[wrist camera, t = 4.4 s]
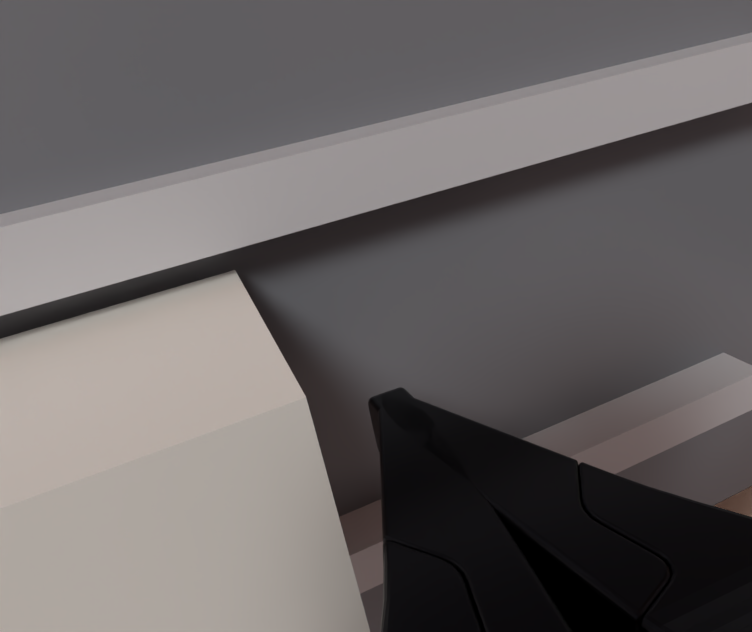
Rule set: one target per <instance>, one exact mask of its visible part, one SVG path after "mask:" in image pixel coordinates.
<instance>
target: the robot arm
mask: <svg viewBox="0 0 752 632" xmlns="http://www.w3.org/2000/svg"><path fill="white" fill-rule="evenodd" d="M368 407H369V412H370V417H371V421H372V426H373V430H374V435H375V439H376V444H377V447H378V450H379V453H380V480H381V508H382V537H383V547H382V548H383V606H382V617H381V628H380V632H752V517H749V516H746V515H742V514H739V513H735V512H732V511H728V510H725V509H722V508H718V507H715V506H711V505H708V504H705V503H701V502H698V501H694V500H691V499H688V498H685V497H681V496H678V495H675V494H672V493H669V492H665V491H662V490H659V489H656V488H653V487H649V486H646V485H644V484H641V483H638V482H635V481H632V480H630V479H627V478H624V477H621V476H618V475H616V474H613V473H610V472H607V471H605V470H602V469H599V468H597V467H594V466H592V465H589V464H586V463H584V462H581V463H579V465H578V461H577V460H575V459H573V458H570V457H567V456H565V455H562V454H560V453H557V452H554V451H552V450H549V449H547V448H544V447H541V446H539V445H536V444H534V443H531V442H528V441H526V440H523V439H521V438H518V437H515V436H513V435H510V434H507V433H505V432H502V431H500V430H497V429H494V428H492V427H489V426H487V425H484V424H481V423H479V422H476V421H474V420H471V419H468V418H466V417H463V416H461V415H458V414H455V413H453V412H450V411H447V410H445V409H442V408H440V407H437V406H434V405H432V404H429V403H427V402H424V401H421V400H419V399H416V398H414V397H413V396H412V395H411V394H410V393H409V392H408V391H407V390H406V389H404V388H402V387H399V388H396V389H393V390H390V391H387V392H384V393H381V394H378V395H376V396H373V397H371V398H370V399H369V401H368Z"/></svg>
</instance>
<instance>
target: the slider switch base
mask: <svg viewBox="0 0 752 632" xmlns="http://www.w3.org/2000/svg"><path fill="white" fill-rule="evenodd" d="M232 270H235V271H236V273H237V274H238V276H239V278H240V280H241V282H242V283H243V285H244V287H245V289H246V290H247V292H248V294H249V296H250V298H251V299H252V301H253V303H254V305H255V307H256V308H257V310H258V312H259V314H260V316H261V317H262V319H263V321H264V323H265V324H266V326H267V328H268V330H269V332H270V333H271V335H272V337H273V339H274V341H275V342H276V344H277V346H278V348H279V350H280V351H281V353H282V355H283V357H284V358H285V360H286V362H287V364H288V366H289V367H290V369H291V371H292V373H293V375H294V376H295V378H296V380H297V382H298V384H299V385H300V387H301V389H302V391H303V392H304V394H305V396H306V399H307V402H308V406H309V410H310V413H311V417H312V421H313V424H314V428H315V431H316V435H317V439H318V442H319V446H320V450H321V453H322V457H323V461H324V464H325V468H326V472H327V475H328V479H329V483H330V486H331V490H332V494H333V497H334V501H335V505H336V508H337V512H338V516H339V519H340V523H341V527H342V530H343V534H344V537H345V541H346V545H347V548H348V552H349V556H350V559H351V563H352V567H353V570H354V574H355V578H356V581H357V585H358V589H359V592H360V596H361V600H362V603H363V607H364V611H365V614H366V618H367V622H368V625H369V629H370V632H380V628H381V617H382V606H383V548H382V547H383V537H382V508H381V480H380V453H379V450H378V447H377V444H376V439H375V435H374V430H373V426H372V421H371V417H370V412H369V407H368V401H369V399H370V398H371V397H373V396H376V395H378V394H381V393H384V392H387V391H390V390H393V389H396V388H399V387H402V388H404V389H406V390H407V391H408V392H409V393H410V394H411V395H412V396H413V397H414V398H416V399H419V400H421V401H424V402H427V403H429V404H432V405H434V406H437V407H440V408H442V409H445V410H447V411H450V412H453V413H455V414H458V415H461V416H463V417H466V418H468V419H471V420H474V421H476V422H479V423H481V424H484V425H487V426H489V427H492V428H494V429H497V430H500V431H502V432H505V433H507V434H510V435H513V436H515V437H518V438H521V439H523V440H526V441H528V442H531V443H534V444H536V445H539V446H541V447H544V448H547V449H549V450H552V451H554V452H557V453H560V454H562V455H565V456H567V457H570V458H573V459H575V460H577V461H578V465H579V463H581V462H584V463H586V464H589V465H592V466H594V467H597V468H599V469H602V470H605V471H607V472H610V473H613V474H616V475H618V476H621V477H624V478H627V479H630V480H632V481H635V482H638V483H641V484H644V485H646V486H649V487H653V488H656V489H659V490H662V491H665V492H669V493H672V494H675V495H678V496H681V497H685V498H688V499H691V500H694V501H698V502H701V503H705V504H708V505H711V506H713V505H715V504H717V503H719V502H721V501H723V500H725V499H727V498H729V497H731V496H733V495H735V494H737V493H739V492H741V491H743V490H744V489H746V488H748V487H750V486H752V0H0V339H1V338H4V337H8V336H11V335H14V334H18V333H21V332H25V331H28V330H31V329H35V328H38V327H42V326H45V325H48V324H52V323H55V322H59V321H62V320H65V319H69V318H72V317H76V316H79V315H82V314H86V313H89V312H93V311H96V310H100V309H103V308H106V307H110V306H113V305H117V304H120V303H123V302H127V301H130V300H134V299H137V298H140V297H144V296H147V295H151V294H154V293H157V292H161V291H164V290H168V289H171V288H174V287H178V286H181V285H185V284H188V283H192V282H195V281H198V280H202V279H205V278H209V277H212V276H215V275H219V274H222V273H226V272H229V271H232Z"/></svg>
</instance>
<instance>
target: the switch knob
mask: <svg viewBox="0 0 752 632" xmlns="http://www.w3.org/2000/svg"><path fill="white" fill-rule="evenodd" d="M0 632H370V629H369V625H368V622H367V618H366V614H365V611H364V607H363V603H362V600H361V596H360V592H359V589H358V585H357V581H356V578H355V574H354V570H353V567H352V563H351V559H350V556H349V552H348V548H347V545H346V541H345V537H344V534H343V530H342V527H341V523H340V519H339V516H338V512H337V508H336V505H335V501H334V497H333V494H332V490H331V486H330V483H329V479H328V475H327V472H326V468H325V464H324V461H323V457H322V453H321V450H320V446H319V442H318V439H317V435H316V431H315V428H314V424H313V421H312V417H311V413H310V410H309V406H308V402H307V399H306V396H305V394H304V392H303V391H302V389H301V387H300V385H299V384H298V382H297V380H296V378H295V376H294V375H293V373H292V371H291V369H290V367H289V366H288V364H287V362H286V360H285V358H284V357H283V355H282V353H281V351H280V350H279V348H278V346H277V344H276V342H275V341H274V339H273V337H272V335H271V333H270V332H269V330H268V328H267V326H266V324H265V323H264V321H263V319H262V317H261V316H260V314H259V312H258V310H257V308H256V307H255V305H254V303H253V301H252V299H251V298H250V296H249V294H248V292H247V290H246V289H245V287H244V285H243V283H242V282H241V280H240V278H239V276H238V274H237V273H236V271H235V270H232V271H229V272H226V273H222V274H219V275H215V276H212V277H209V278H205V279H202V280H198V281H195V282H192V283H188V284H185V285H181V286H178V287H174V288H171V289H168V290H164V291H161V292H157V293H154V294H151V295H147V296H144V297H140V298H137V299H134V300H130V301H127V302H123V303H120V304H117V305H113V306H110V307H106V308H103V309H100V310H96V311H93V312H89V313H86V314H82V315H79V316H76V317H72V318H69V319H65V320H62V321H59V322H55V323H52V324H48V325H45V326H42V327H38V328H35V329H31V330H28V331H25V332H21V333H18V334H14V335H11V336H8V337H4V338H1V339H0Z"/></svg>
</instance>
